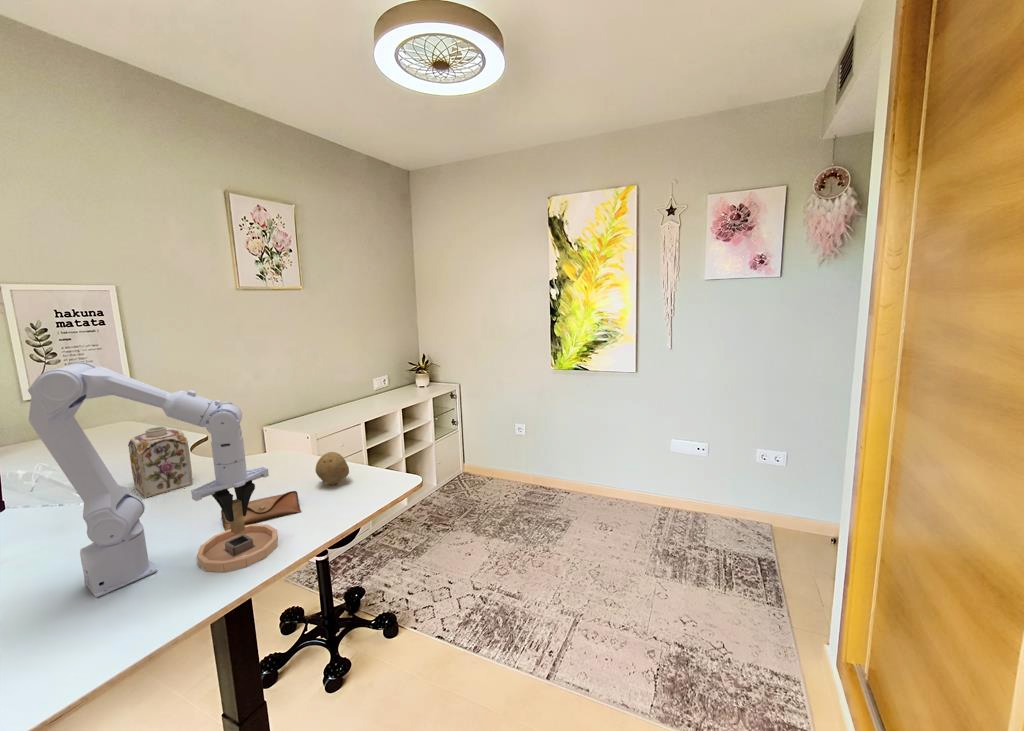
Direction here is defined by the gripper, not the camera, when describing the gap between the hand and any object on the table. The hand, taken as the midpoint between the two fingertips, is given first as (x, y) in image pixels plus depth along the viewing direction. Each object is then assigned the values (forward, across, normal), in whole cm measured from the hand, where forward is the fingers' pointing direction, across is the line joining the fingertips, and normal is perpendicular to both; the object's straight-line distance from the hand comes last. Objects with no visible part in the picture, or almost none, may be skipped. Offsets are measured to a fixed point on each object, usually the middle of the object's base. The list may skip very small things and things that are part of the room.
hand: (236, 517), depth 94 cm
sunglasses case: (+9, +11, +12) cm, 18 cm away
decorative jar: (+8, +3, +53) cm, 54 cm away
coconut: (+8, +32, +13) cm, 35 cm away
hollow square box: (+8, 0, 0) cm, 8 cm away
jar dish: (+8, 0, 0) cm, 8 cm away
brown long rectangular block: (+3, 0, 0) cm, 3 cm away
